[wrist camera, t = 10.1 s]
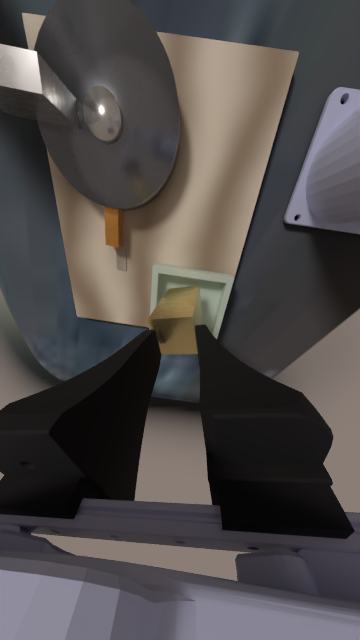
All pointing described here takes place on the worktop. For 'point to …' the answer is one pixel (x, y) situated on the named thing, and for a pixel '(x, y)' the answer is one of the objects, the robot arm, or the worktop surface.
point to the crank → (99, 103)
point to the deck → (182, 178)
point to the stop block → (177, 320)
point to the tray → (211, 285)
